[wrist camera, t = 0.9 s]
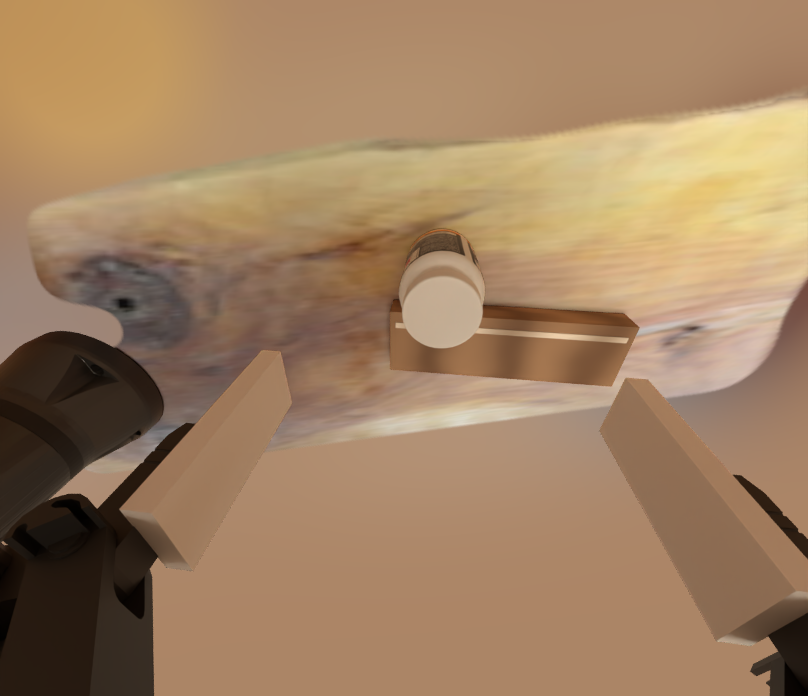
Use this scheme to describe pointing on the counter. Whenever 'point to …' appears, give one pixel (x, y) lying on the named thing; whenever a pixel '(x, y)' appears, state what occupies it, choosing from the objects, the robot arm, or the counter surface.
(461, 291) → the pill bottle
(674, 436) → the robot arm
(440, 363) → the plank
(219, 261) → the counter surface
